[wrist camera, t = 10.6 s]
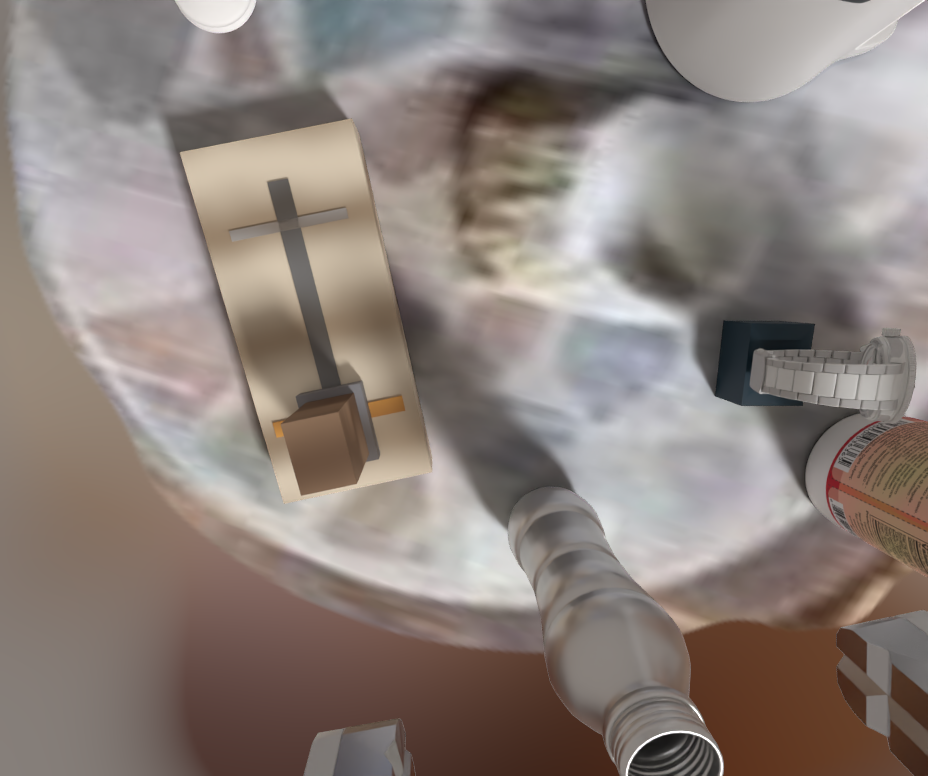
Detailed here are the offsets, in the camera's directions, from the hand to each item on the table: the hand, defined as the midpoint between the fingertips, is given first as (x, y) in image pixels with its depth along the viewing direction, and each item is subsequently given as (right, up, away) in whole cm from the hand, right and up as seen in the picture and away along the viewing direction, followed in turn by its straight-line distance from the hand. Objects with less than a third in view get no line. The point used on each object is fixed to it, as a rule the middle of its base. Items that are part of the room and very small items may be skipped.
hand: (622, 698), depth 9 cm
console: (-12, +10, +24) cm, 29 cm away
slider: (-11, +3, +22) cm, 25 cm away
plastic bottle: (+3, -4, +28) cm, 29 cm away
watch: (+18, +8, +27) cm, 33 cm away
